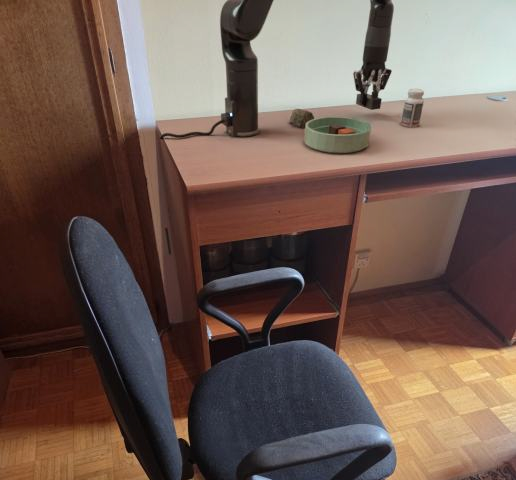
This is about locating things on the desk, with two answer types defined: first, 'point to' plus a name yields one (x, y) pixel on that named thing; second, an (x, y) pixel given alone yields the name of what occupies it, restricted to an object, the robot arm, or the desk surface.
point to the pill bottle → (413, 108)
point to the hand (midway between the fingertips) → (367, 104)
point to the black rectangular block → (370, 102)
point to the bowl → (337, 143)
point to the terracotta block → (346, 131)
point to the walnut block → (335, 128)
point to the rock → (300, 117)
